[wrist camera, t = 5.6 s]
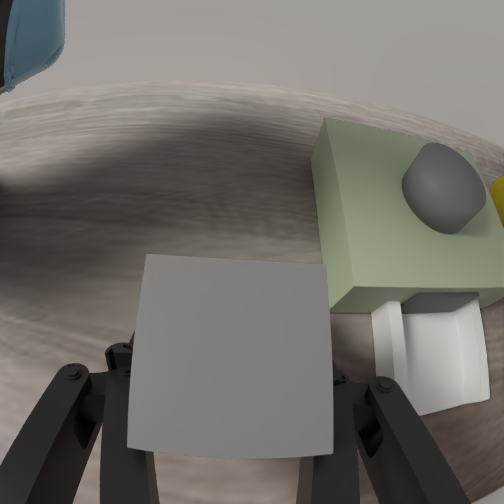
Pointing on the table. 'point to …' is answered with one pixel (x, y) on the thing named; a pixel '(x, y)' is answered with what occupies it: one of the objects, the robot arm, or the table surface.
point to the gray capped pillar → (232, 359)
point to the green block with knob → (411, 256)
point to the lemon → (498, 197)
